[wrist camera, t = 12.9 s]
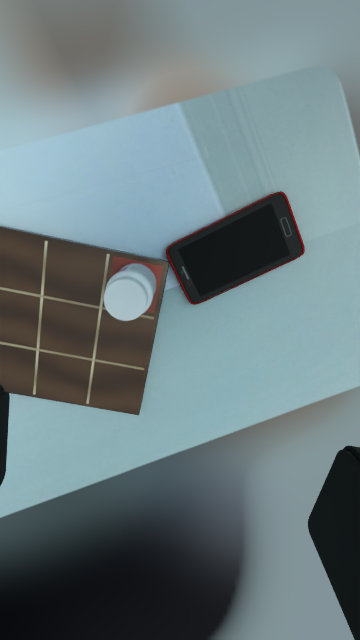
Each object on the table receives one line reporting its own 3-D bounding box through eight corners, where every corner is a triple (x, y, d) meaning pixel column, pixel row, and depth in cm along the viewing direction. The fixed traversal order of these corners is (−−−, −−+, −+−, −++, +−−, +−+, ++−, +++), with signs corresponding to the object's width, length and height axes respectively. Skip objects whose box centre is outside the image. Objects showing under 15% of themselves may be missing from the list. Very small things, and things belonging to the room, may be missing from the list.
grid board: (-12, 223, 36) (-18, 223, 35) (169, 261, 37) (169, 262, 36) (-16, 384, 42) (-21, 388, 41) (139, 411, 43) (138, 415, 42)
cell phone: (304, 253, 37) (307, 253, 36) (191, 305, 39) (191, 307, 38) (281, 188, 35) (284, 188, 34) (162, 247, 36) (162, 248, 36)
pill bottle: (125, 255, 36) (111, 265, 28) (163, 273, 36) (159, 288, 28) (109, 291, 37) (91, 311, 29) (146, 309, 38) (138, 333, 30)
